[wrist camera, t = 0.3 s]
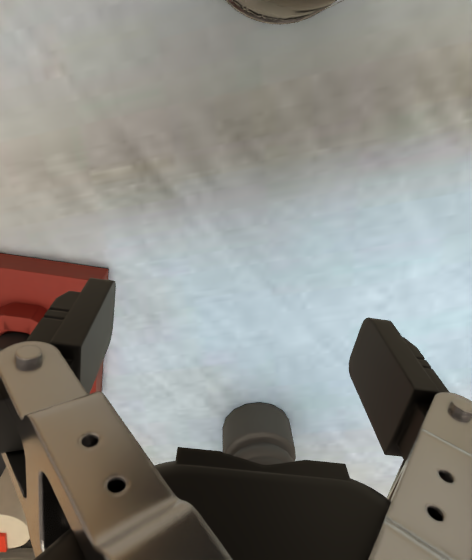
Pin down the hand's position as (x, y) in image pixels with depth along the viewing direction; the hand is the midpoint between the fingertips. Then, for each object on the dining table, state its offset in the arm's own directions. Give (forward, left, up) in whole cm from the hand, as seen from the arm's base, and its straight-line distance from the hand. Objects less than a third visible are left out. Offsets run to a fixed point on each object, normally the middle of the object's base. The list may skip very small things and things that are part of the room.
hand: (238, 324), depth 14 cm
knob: (+26, -13, -14) cm, 33 cm away
